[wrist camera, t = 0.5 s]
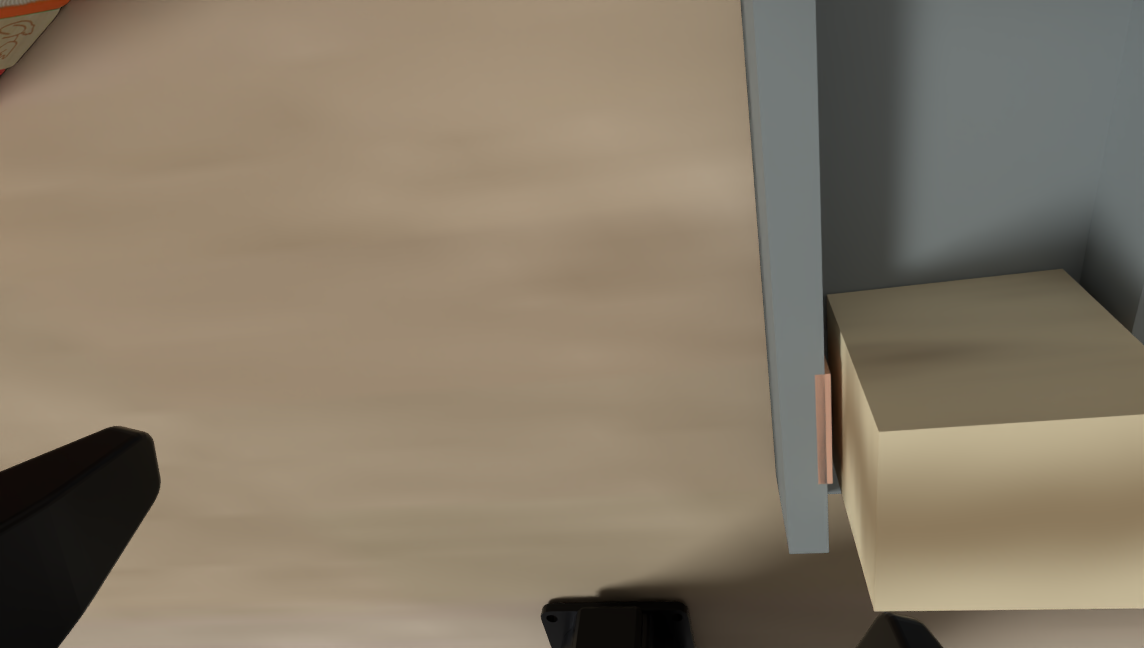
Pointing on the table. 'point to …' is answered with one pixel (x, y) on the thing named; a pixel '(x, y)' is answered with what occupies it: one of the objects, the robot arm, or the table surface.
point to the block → (990, 444)
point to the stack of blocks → (23, 26)
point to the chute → (931, 174)
